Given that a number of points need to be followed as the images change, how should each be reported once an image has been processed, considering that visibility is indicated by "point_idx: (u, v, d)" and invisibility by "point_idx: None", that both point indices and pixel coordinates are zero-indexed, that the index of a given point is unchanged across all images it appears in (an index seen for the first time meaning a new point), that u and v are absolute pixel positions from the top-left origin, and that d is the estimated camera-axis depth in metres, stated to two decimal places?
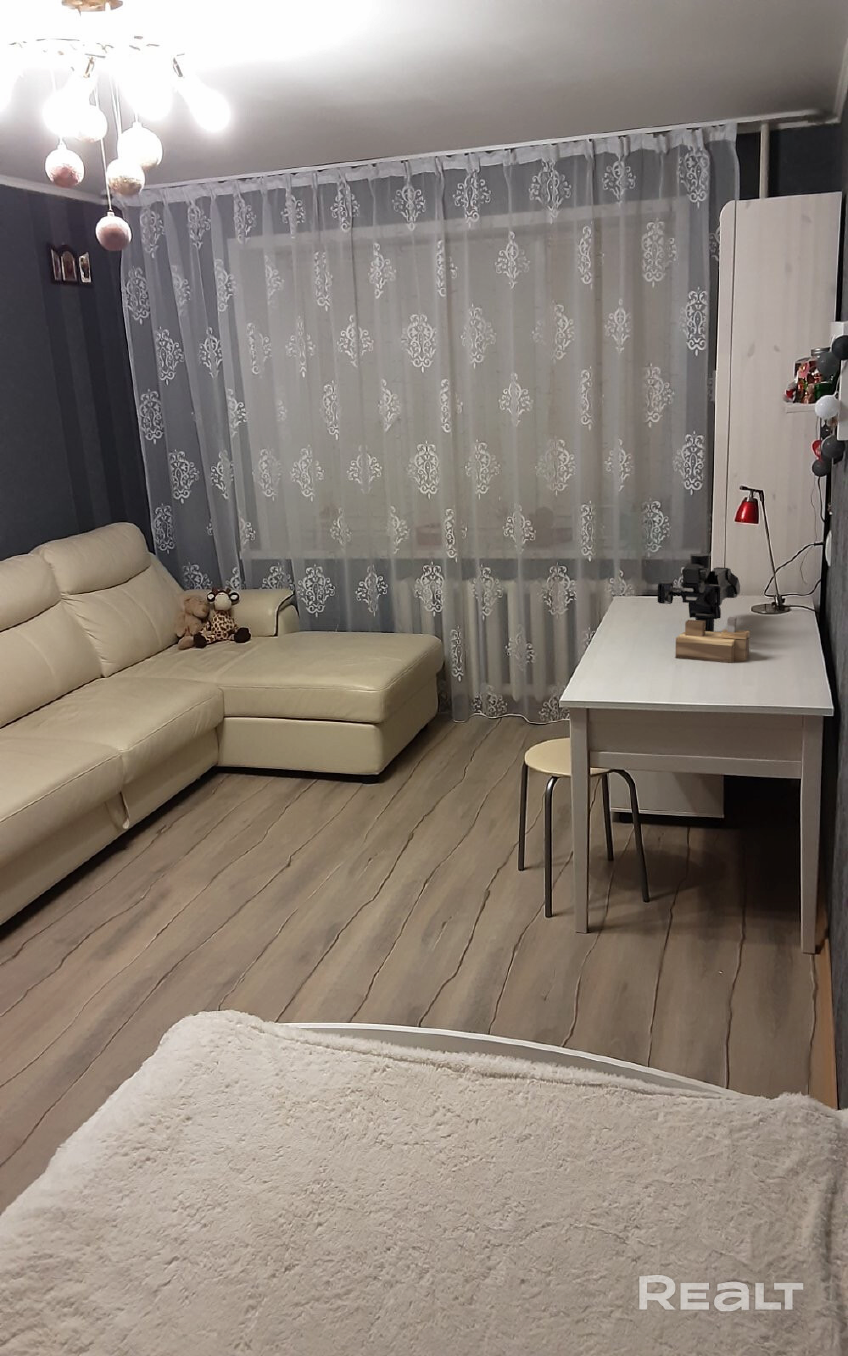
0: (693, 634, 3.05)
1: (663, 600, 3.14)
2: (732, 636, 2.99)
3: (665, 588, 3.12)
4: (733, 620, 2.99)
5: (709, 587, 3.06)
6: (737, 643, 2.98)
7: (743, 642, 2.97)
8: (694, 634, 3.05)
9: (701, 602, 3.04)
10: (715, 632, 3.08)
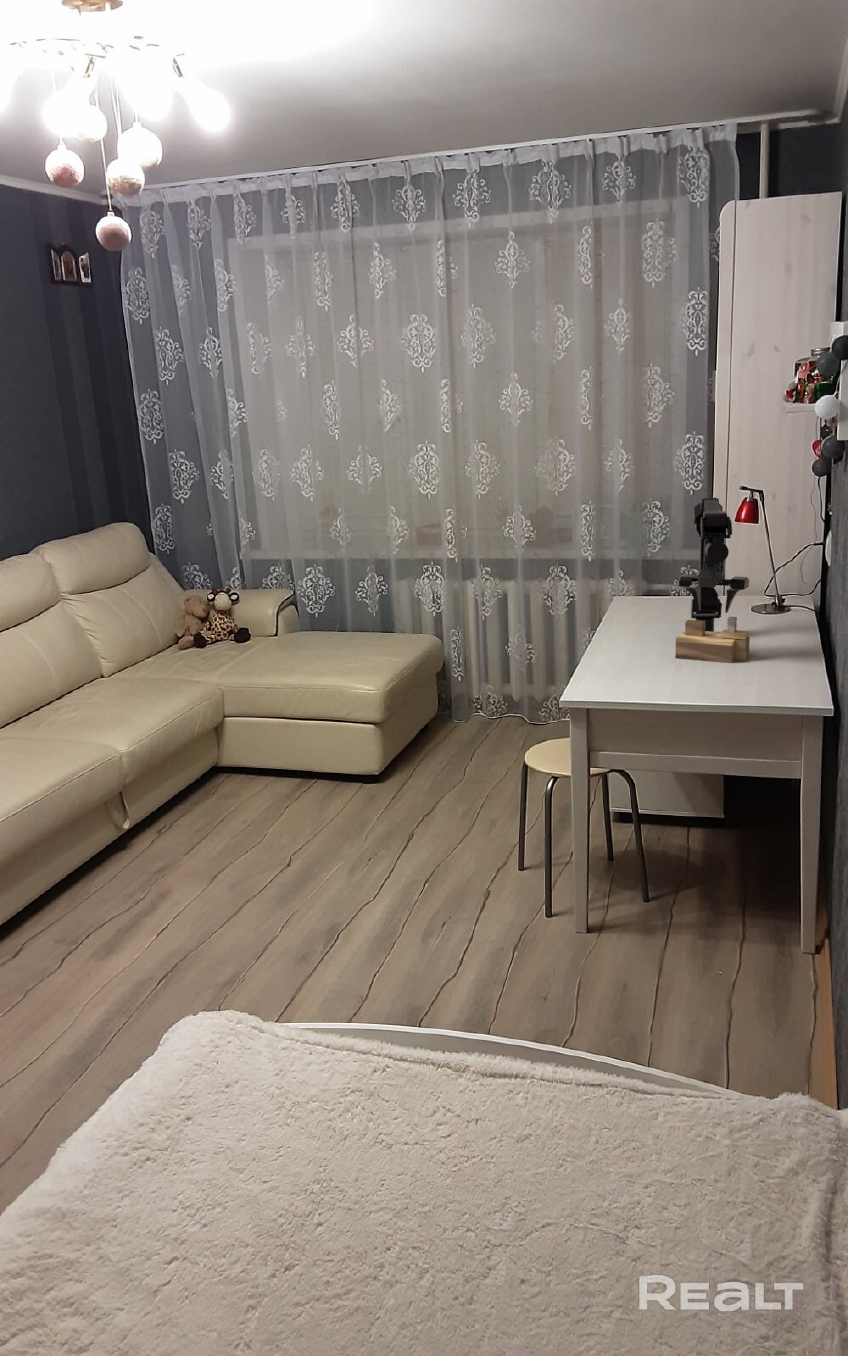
0: (693, 634, 3.05)
1: None
2: (732, 636, 2.99)
3: (691, 592, 3.02)
4: (733, 620, 2.99)
5: (731, 592, 2.95)
6: (737, 643, 2.98)
7: (743, 642, 2.97)
8: (694, 634, 3.05)
9: (730, 605, 3.00)
10: (715, 632, 3.08)
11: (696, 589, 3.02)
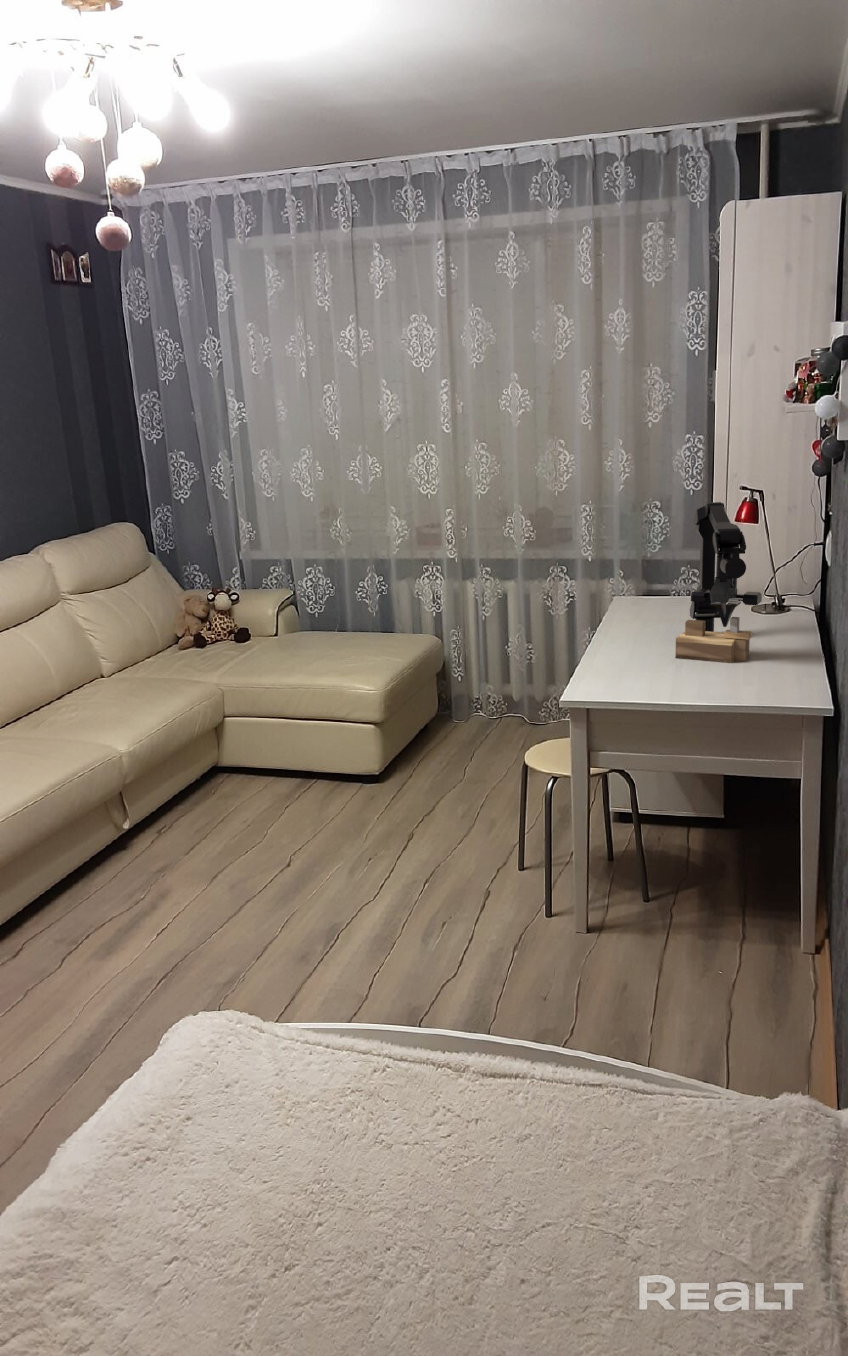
0: (693, 634, 3.05)
1: None
2: (735, 636, 2.99)
3: (716, 607, 2.99)
4: (736, 620, 2.98)
5: (730, 606, 2.96)
6: (737, 643, 2.98)
7: (743, 642, 2.97)
8: (694, 634, 3.05)
9: (729, 619, 3.01)
10: (715, 632, 3.08)
11: (722, 605, 2.99)
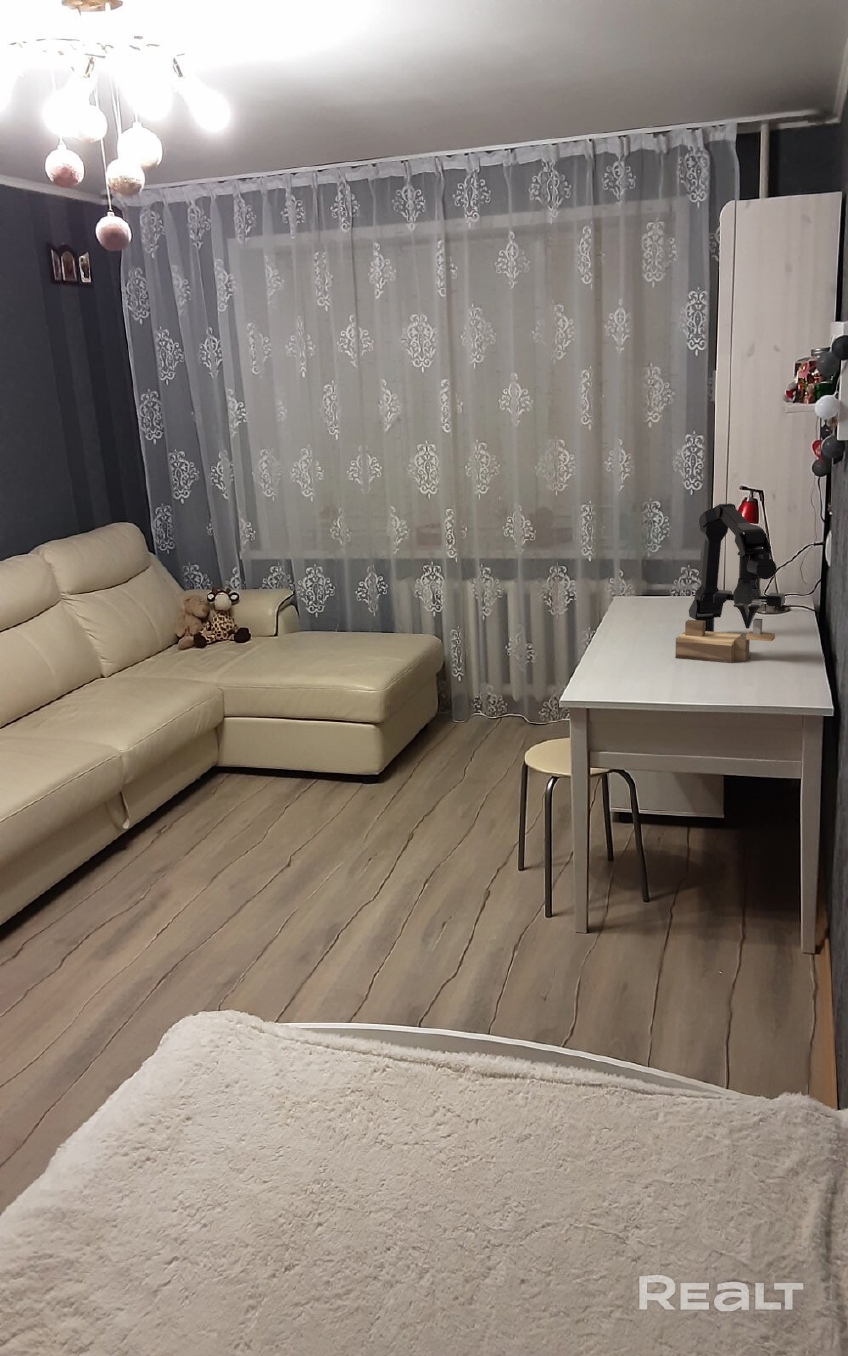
0: (693, 634, 3.05)
1: None
2: (758, 638, 2.96)
3: (739, 609, 2.96)
4: (759, 622, 2.95)
5: (753, 607, 2.93)
6: (737, 643, 2.98)
7: (743, 642, 2.97)
8: (694, 634, 3.05)
9: (752, 620, 2.98)
10: (715, 632, 3.08)
11: (745, 606, 2.96)
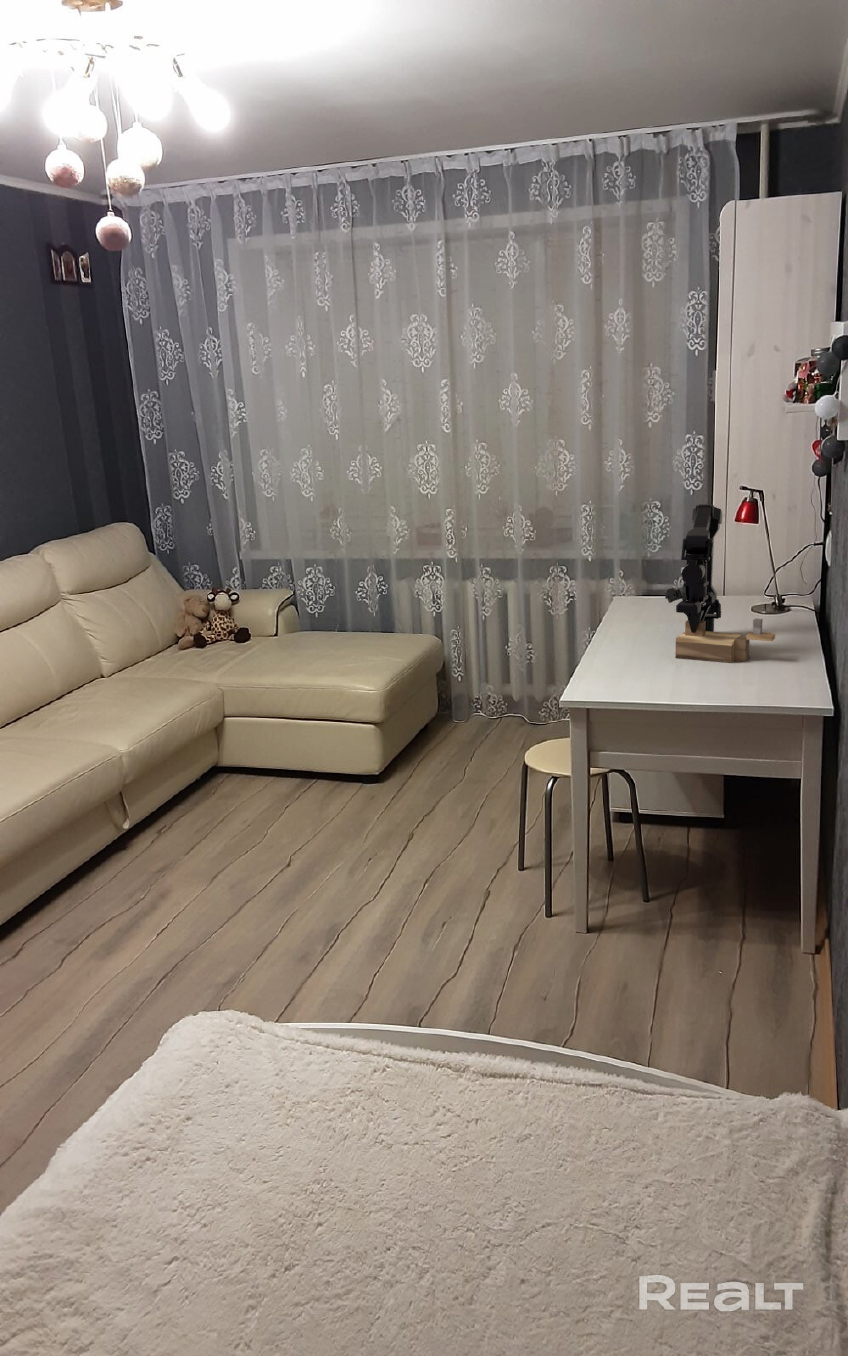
0: (693, 634, 3.05)
1: None
2: (758, 638, 2.96)
3: None
4: (759, 622, 2.95)
5: None
6: (737, 643, 2.98)
7: (743, 642, 2.97)
8: (694, 634, 3.05)
9: (695, 626, 3.03)
10: (715, 632, 3.08)
11: None
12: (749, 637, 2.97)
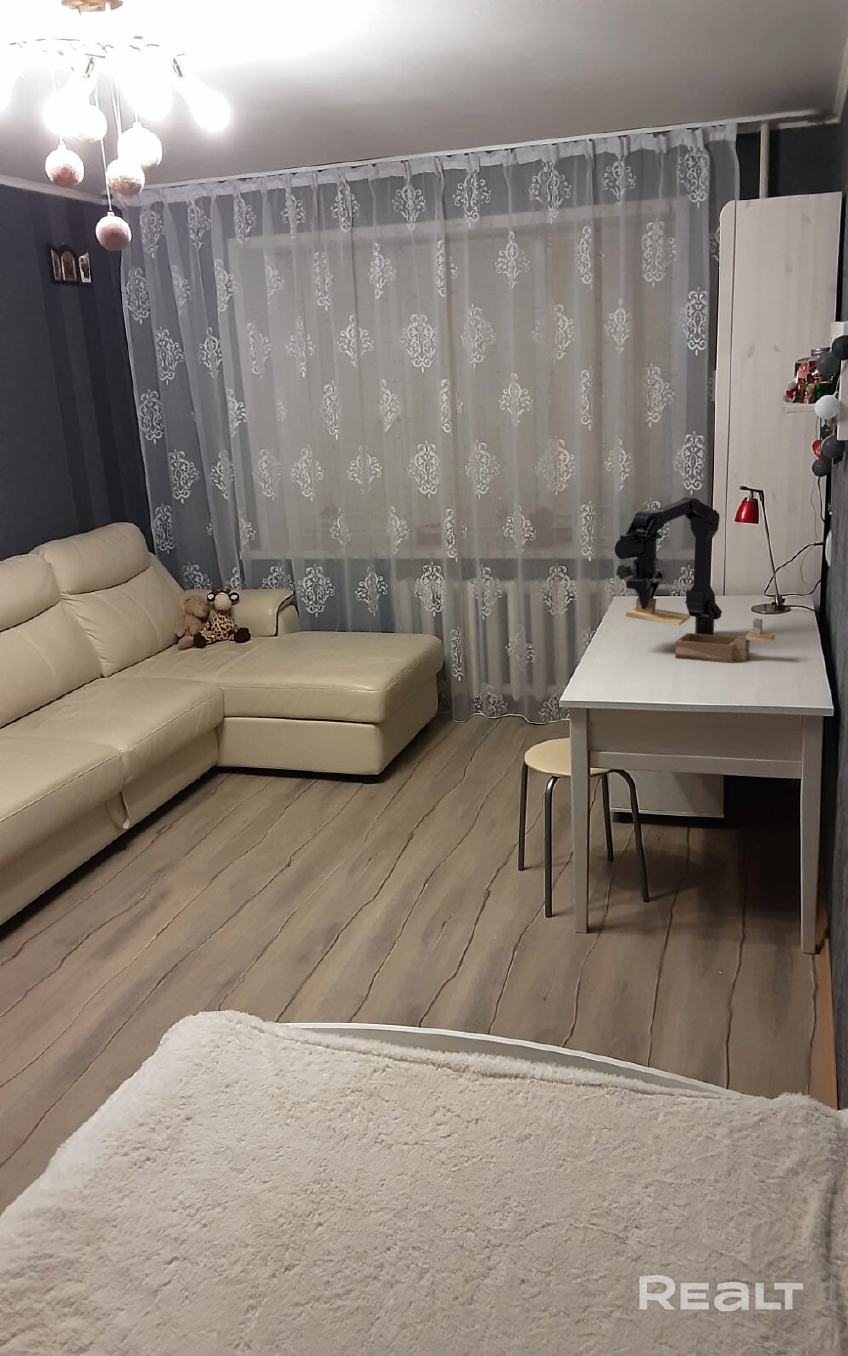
0: (643, 611, 3.11)
1: None
2: (758, 638, 2.96)
3: None
4: (759, 622, 2.95)
5: None
6: (737, 643, 2.98)
7: (743, 642, 2.97)
8: (644, 611, 3.11)
9: (646, 602, 3.09)
10: (665, 611, 3.14)
11: None
12: (749, 637, 2.97)
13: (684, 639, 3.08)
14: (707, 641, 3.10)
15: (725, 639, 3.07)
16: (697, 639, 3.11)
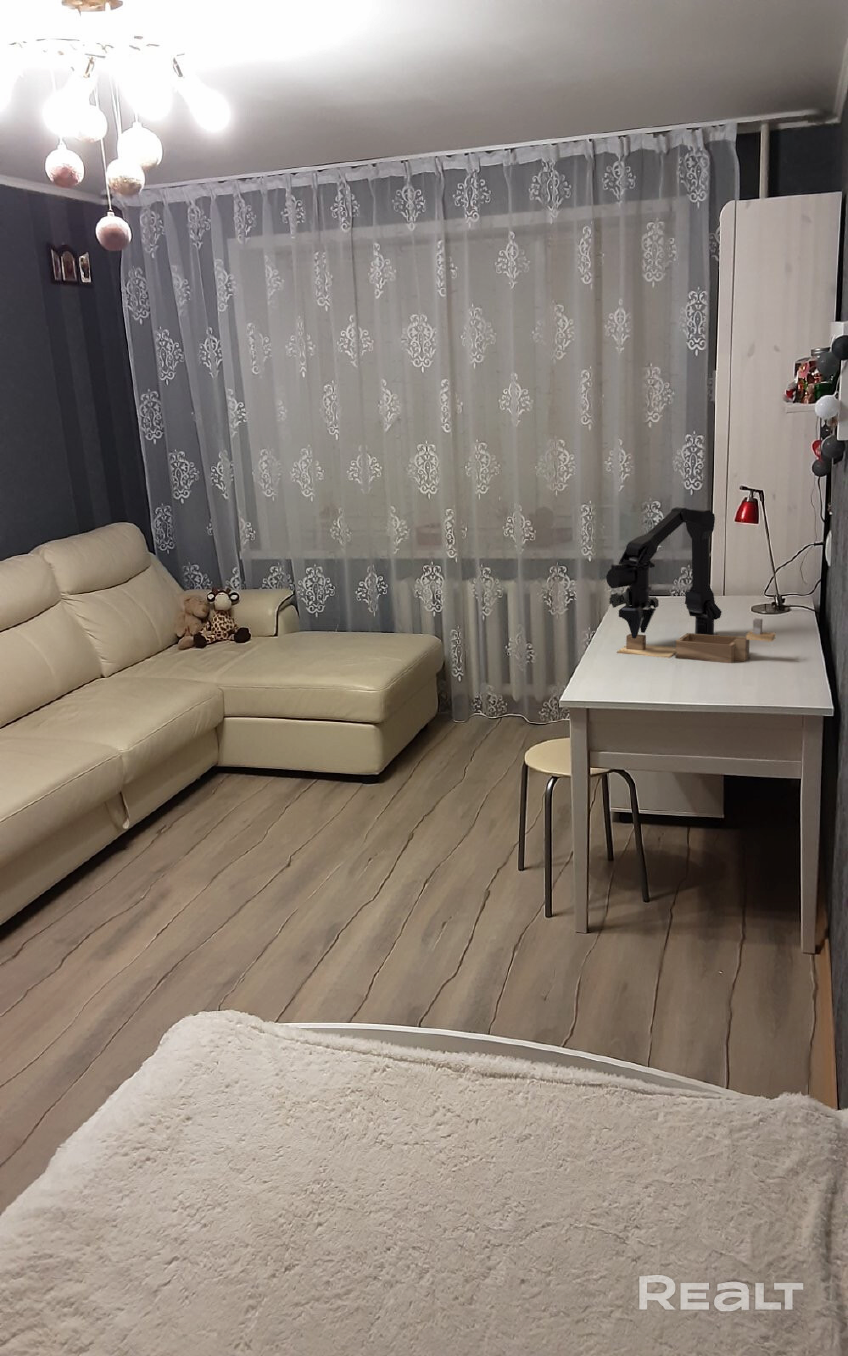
0: (634, 648, 3.16)
1: None
2: (758, 638, 2.96)
3: None
4: (759, 622, 2.95)
5: None
6: (737, 643, 2.98)
7: (743, 642, 2.97)
8: (635, 648, 3.15)
9: (636, 632, 3.11)
10: (656, 646, 3.19)
11: None
12: (749, 637, 2.97)
13: (684, 639, 3.08)
14: (707, 641, 3.10)
15: (725, 639, 3.07)
16: (697, 639, 3.11)
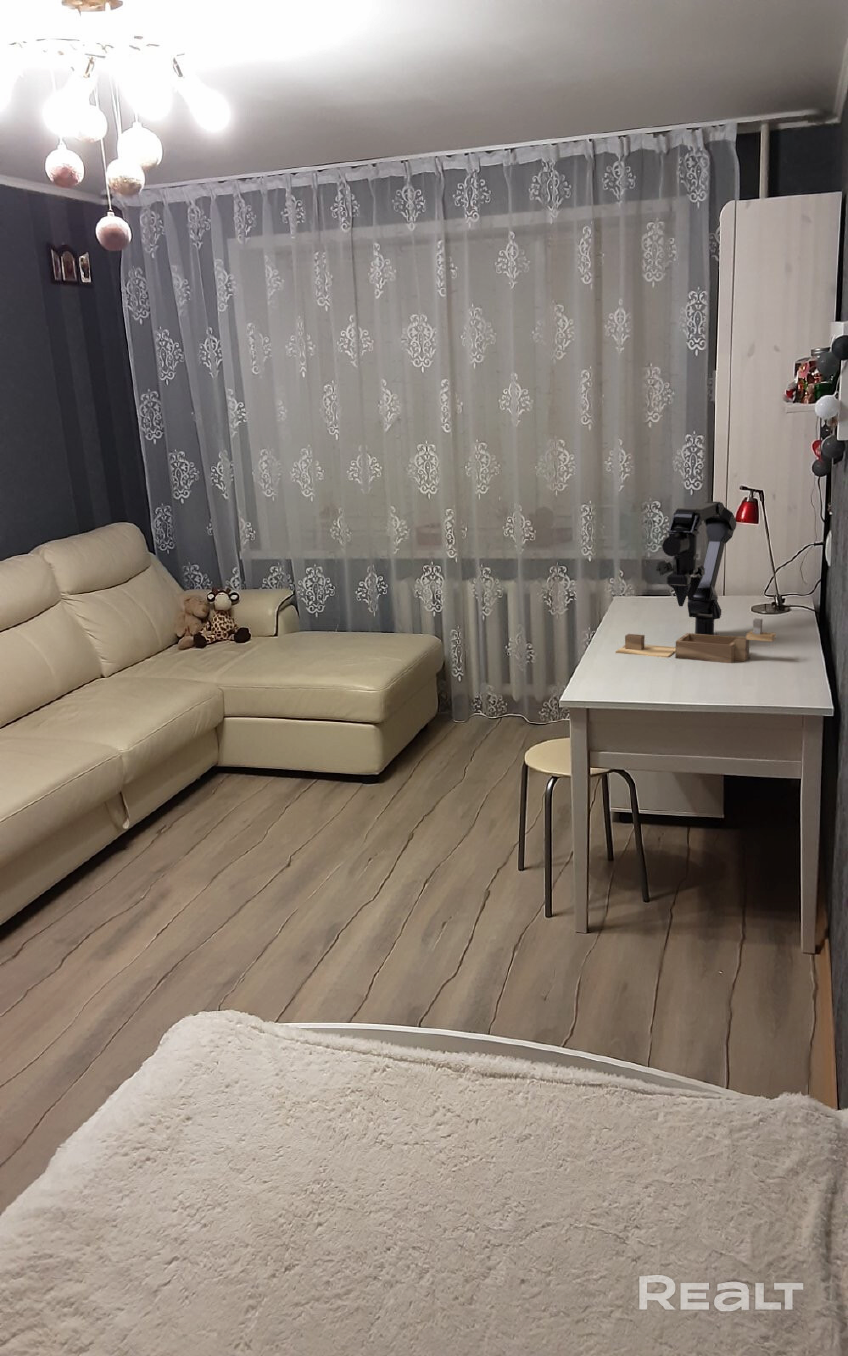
0: (632, 648, 3.16)
1: None
2: (758, 638, 2.96)
3: None
4: (759, 622, 2.95)
5: None
6: (737, 643, 2.98)
7: (743, 642, 2.97)
8: (633, 648, 3.16)
9: (683, 600, 3.10)
10: (654, 646, 3.19)
11: None
12: (749, 637, 2.97)
13: (684, 639, 3.08)
14: (707, 641, 3.10)
15: (725, 639, 3.07)
16: (697, 639, 3.11)
